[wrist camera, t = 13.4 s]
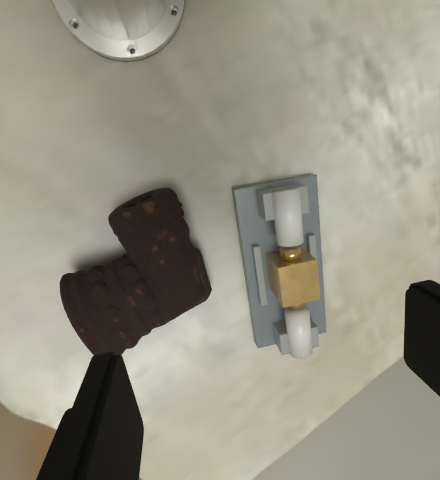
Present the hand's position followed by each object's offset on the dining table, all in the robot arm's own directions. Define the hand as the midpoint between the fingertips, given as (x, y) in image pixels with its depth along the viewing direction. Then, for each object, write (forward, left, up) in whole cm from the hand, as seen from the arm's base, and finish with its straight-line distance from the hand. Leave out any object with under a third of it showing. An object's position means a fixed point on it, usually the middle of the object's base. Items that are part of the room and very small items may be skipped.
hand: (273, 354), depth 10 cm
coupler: (+10, +9, -27) cm, 30 cm away
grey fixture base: (+10, +9, -28) cm, 31 cm away
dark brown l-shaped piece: (+6, -9, -29) cm, 31 cm away
